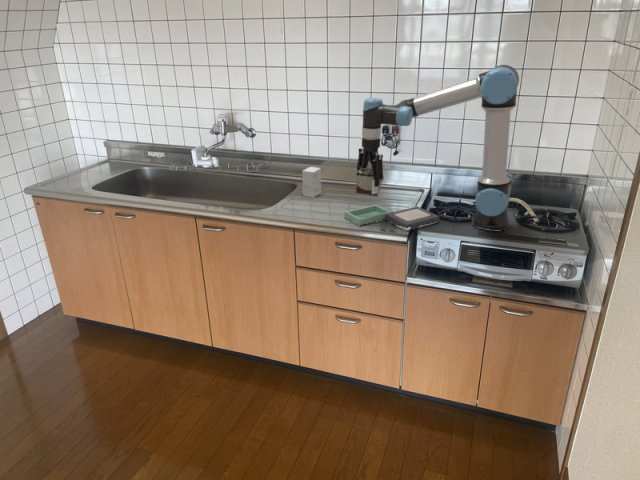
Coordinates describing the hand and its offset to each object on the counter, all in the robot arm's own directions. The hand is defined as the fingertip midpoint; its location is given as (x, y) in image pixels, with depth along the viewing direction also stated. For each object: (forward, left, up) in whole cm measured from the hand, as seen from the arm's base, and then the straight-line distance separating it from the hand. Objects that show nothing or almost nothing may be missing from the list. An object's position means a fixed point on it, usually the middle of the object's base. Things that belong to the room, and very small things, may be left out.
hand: (368, 190), depth 211 cm
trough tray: (0, 0, -13) cm, 13 cm away
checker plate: (-13, -14, -11) cm, 22 cm away
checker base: (-13, -14, -13) cm, 23 cm away
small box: (+40, +5, -13) cm, 42 cm away
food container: (+2, -1, -2) cm, 3 cm away
